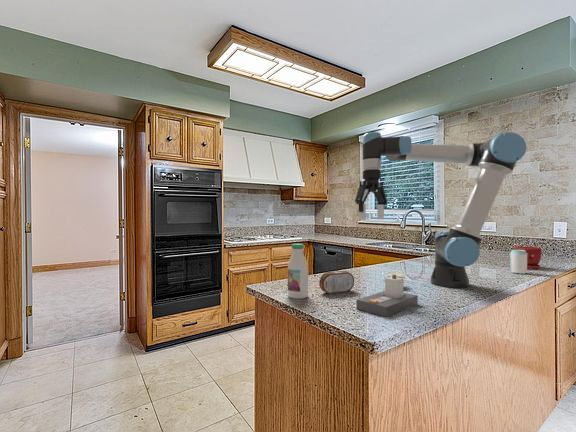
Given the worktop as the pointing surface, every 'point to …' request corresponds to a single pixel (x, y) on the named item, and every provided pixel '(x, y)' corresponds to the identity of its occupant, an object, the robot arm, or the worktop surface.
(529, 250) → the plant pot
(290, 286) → the milk bottle
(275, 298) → the worktop surface
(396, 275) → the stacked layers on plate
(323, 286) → the tin
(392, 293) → the block
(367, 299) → the power strip
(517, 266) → the can
